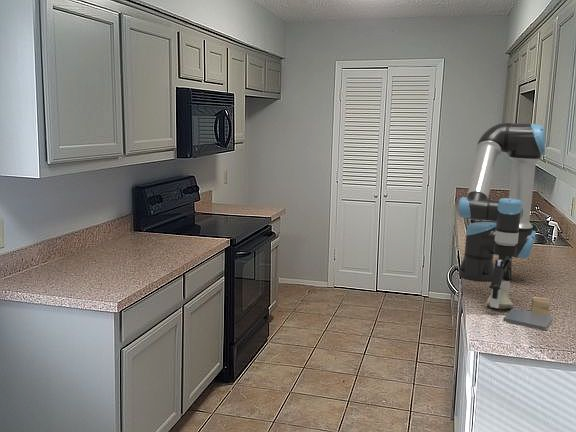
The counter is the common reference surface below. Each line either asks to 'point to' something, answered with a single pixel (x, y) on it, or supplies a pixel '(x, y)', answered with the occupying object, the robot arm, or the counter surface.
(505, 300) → the seashell
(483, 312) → the counter surface
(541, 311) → the oak block
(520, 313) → the plate
